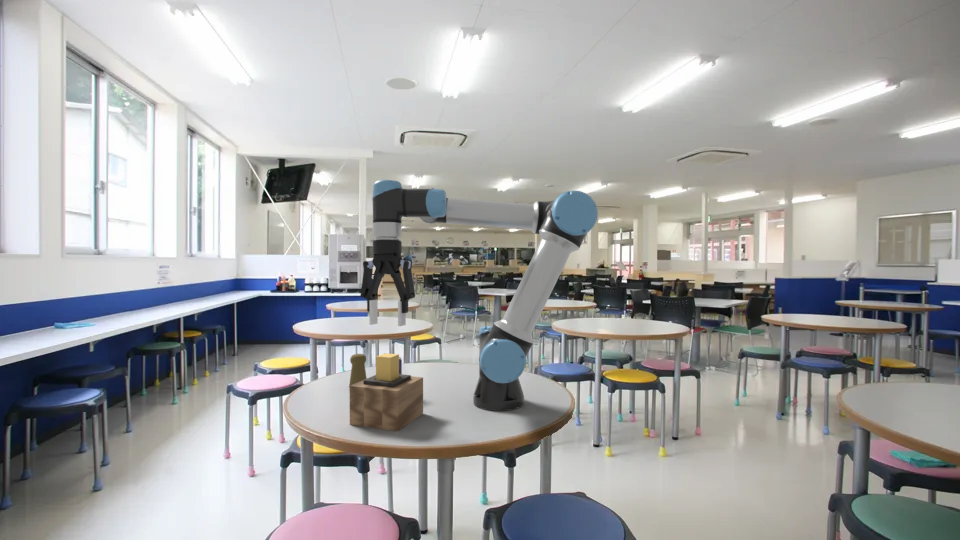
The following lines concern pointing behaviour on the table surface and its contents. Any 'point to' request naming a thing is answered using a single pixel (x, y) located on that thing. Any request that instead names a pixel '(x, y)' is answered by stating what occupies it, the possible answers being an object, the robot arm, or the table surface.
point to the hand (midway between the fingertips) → (387, 324)
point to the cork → (357, 368)
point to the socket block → (386, 402)
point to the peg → (387, 367)
